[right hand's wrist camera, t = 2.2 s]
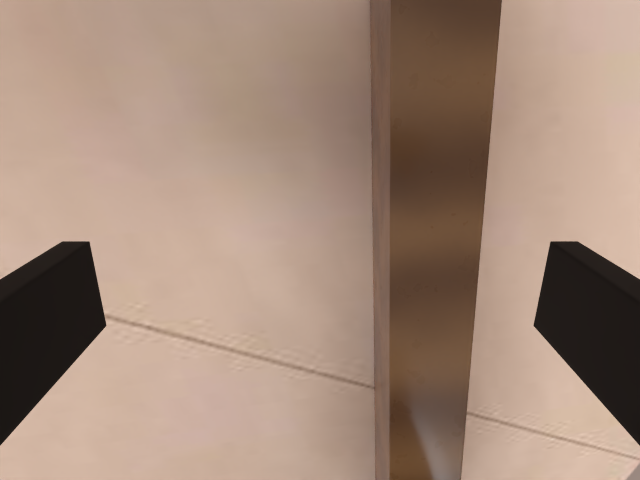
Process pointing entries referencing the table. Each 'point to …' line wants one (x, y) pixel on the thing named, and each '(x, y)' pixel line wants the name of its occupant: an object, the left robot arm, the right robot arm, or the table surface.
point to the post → (427, 222)
